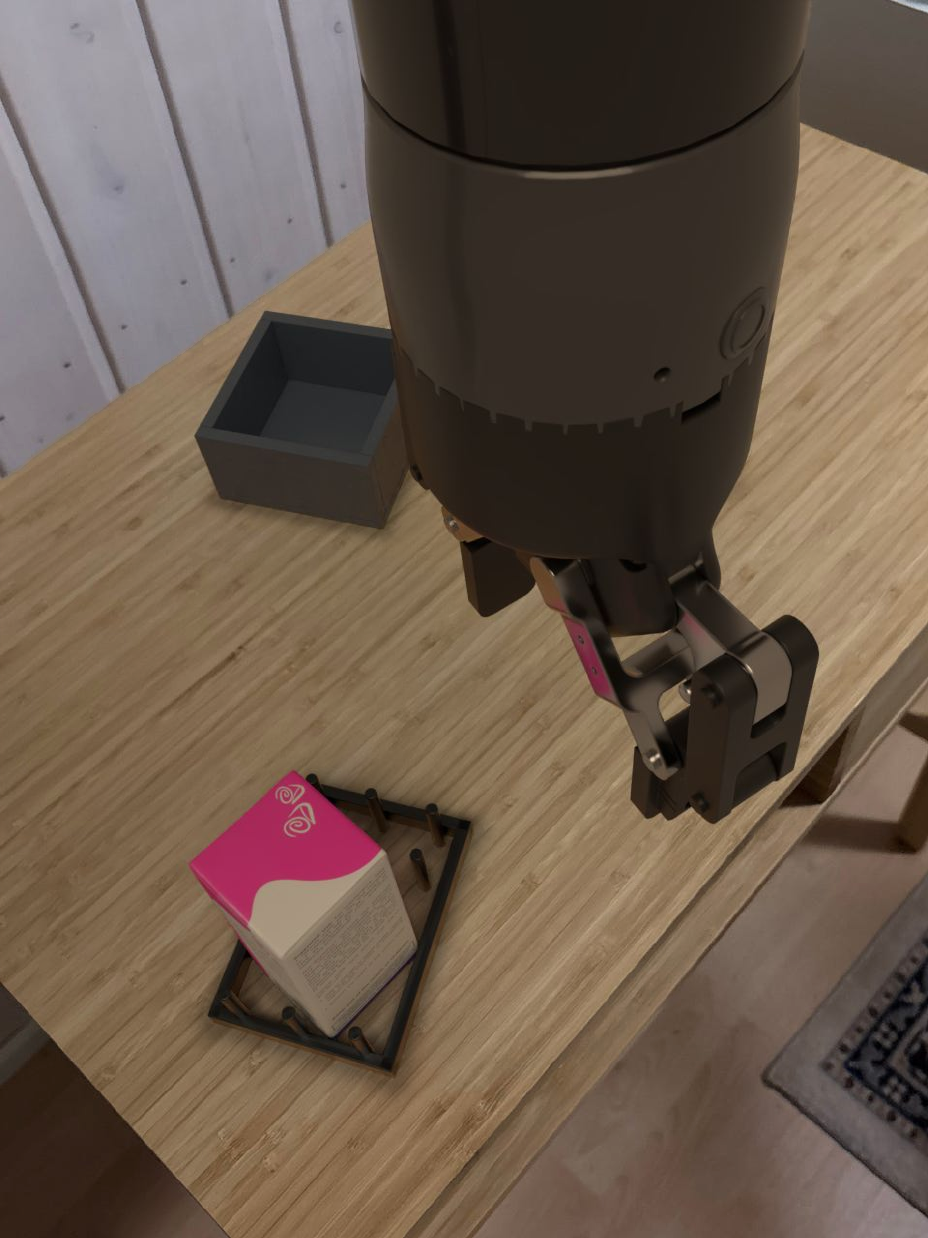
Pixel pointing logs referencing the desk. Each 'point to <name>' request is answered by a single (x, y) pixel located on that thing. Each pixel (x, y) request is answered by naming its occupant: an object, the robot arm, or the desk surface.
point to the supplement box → (310, 902)
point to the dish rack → (362, 1053)
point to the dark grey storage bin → (309, 421)
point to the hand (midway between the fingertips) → (580, 691)
